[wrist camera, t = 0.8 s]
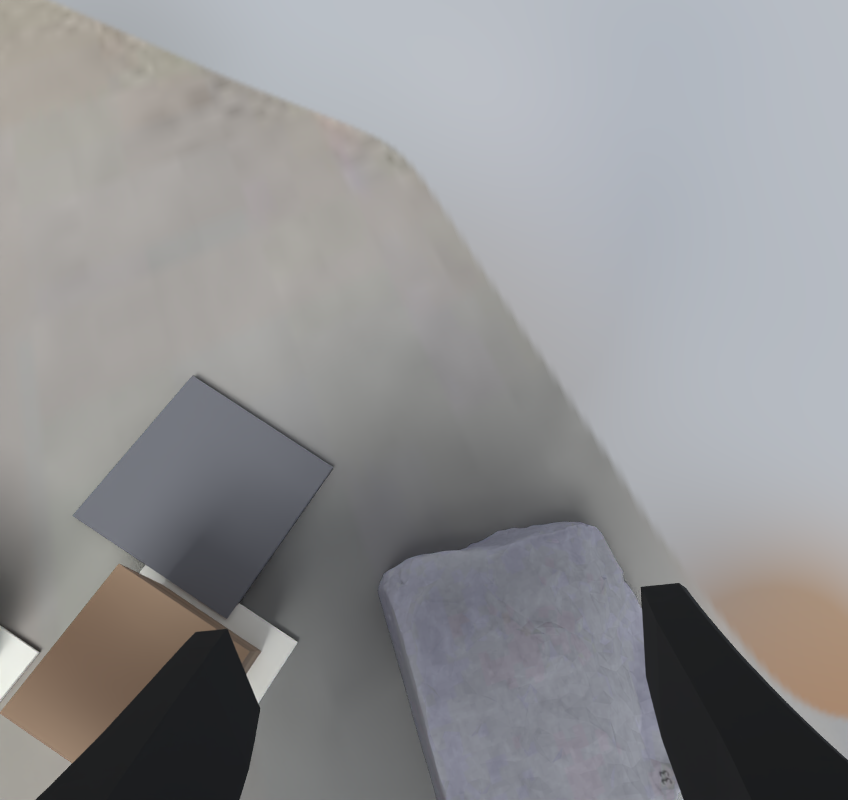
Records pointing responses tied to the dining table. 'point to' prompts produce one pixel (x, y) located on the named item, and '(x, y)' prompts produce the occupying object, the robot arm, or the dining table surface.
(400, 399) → the dining table surface
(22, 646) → the tile
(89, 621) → the walnut block
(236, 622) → the cream tile
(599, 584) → the stone block
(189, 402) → the charcoal mat
